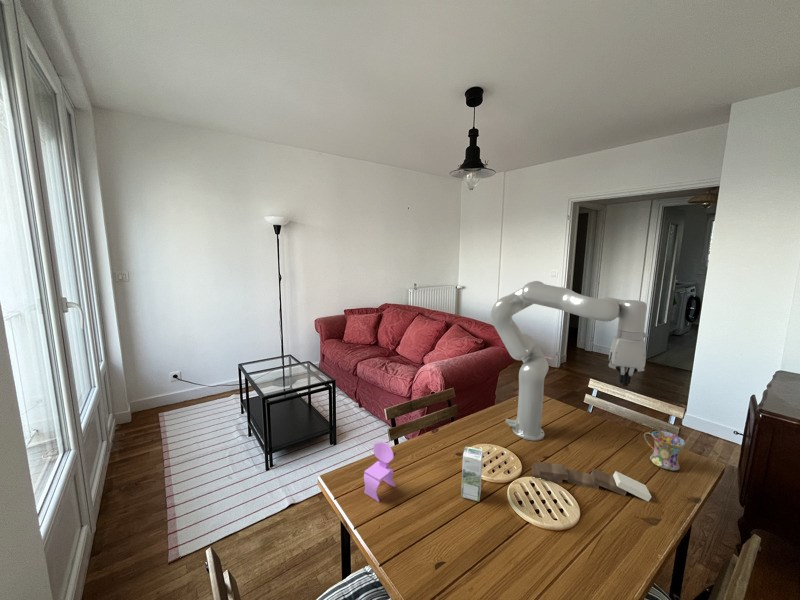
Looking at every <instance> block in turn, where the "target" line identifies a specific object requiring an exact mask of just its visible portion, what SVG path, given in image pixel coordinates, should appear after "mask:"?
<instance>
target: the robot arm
mask: <svg viewBox="0 0 800 600" xmlns="http://www.w3.org/2000/svg"><path fill="white" fill-rule="evenodd" d="M533 305H537V306H538V305H539V306H542V307H547V308H551V309H554V310H559V311H563V312H565V313H568V314H572V315H576V316H579V317H582V318H586V319H591V320H595V321H598V322H607V323H608V322H611V321H615V320H616V319H618V323H617V325H618V326H617V332H616V333H617V334H616V336H614V337H613V339H612V341H611V345H610V350H609V354H608V361H609V363H608V368H611V369H613V370H616V371H618V372H619V377H618V382H619V383H620V385H621V386H622V387H629V385H630V384H631V378H632V376H633V375H634V374H636V373H637V372H644V371H645V366H646V359H647V358H646V357H647V356H646V355H647V354H646V353H647V351H646V349H647V348H646V341H645V338H648V337H649V333H646V332H645V325H646V317H647V309H648V308H647V307H648V306H647V303H646V302H645V301H643V300H642V301H641V300H635V299H620V298H614V297H609V296H608V297H602V298H597V297H596V298H595V297H591V296H587V295H583V294H580V293H577V292H575V291H573V290H572V289H570V288H566V287H561V286H555V285H550V284H547V283H546V284H545V283H544V282H542V281H539V280H533V281H529V282H527V283H526V284H524V286H523V287H522V288H519V289H518V290H516V291H514V292H512V293H510V294H509V295H506V296H503V297H500V298H499V299H498V300H497V301H496V302H494V304H493V306H492V308H491V312H490V319H491V323H492V325H493V327H494V329H495V330H496V332H497V334H498V335H499V337H500V340H501V342H502V344H503V345H504V346H505V349H506V351H507V352H508V353H509V355H510V356H511V358H512V359H514V360H516V361H522V364H521V367H520V368H519V371H518V401H517V402H518V403H517V413H516V414H517V415H516V417H515V419H510V418H505V424H507V425H508V427H512V432H513V434H515V435H516V436H517V437H519V438H521V439H524V440H528V441H540V440H543V439H544V437H545V431H544V430H543V428H542V417H543V404H544V389H545V388H544V387H545V385H544V383H545V377H547V374H548V371H549V369H550V367H549V363H548V360H547V358H546V357H545V355H544V354H543V352H542V350H541V348H540V347H539V345H538V343H537V342H536V340H535V339H534V338H533V337H532V336H531V335H529V334H528V333H523V332H522V331H521V330H520V328H519V326H518V325H517V323H516V322H515V320H514V319H513V316H514V315H516V314H517V313H519V312H521V311H523V310H525V309H527V308H529V307H531V306H533ZM625 368H626V370H625Z"/></svg>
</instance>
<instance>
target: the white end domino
mask: <svg viewBox="0 0 800 600" xmlns="http://www.w3.org/2000/svg"><path fill="white" fill-rule="evenodd" d="M612 476H613V477H614V480H615V482H616V485H617V487H619V488H621V489H623V490H626V491H627V492H628V493H630V494H632V495H633V496H636V497H638V498H640V499H642V500H644V501H646V502H648V503H649V501H650V500H651V499H652V495H651V493H650V491H649V489H648V487H647V485H645V484H644V483H641V482H640V481H638V480H636V479H633V478H631V477H629V476H627V475H625V474H623V473H621V472H618V471H616V470H615V472H614V473H613V475H612Z"/></svg>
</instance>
